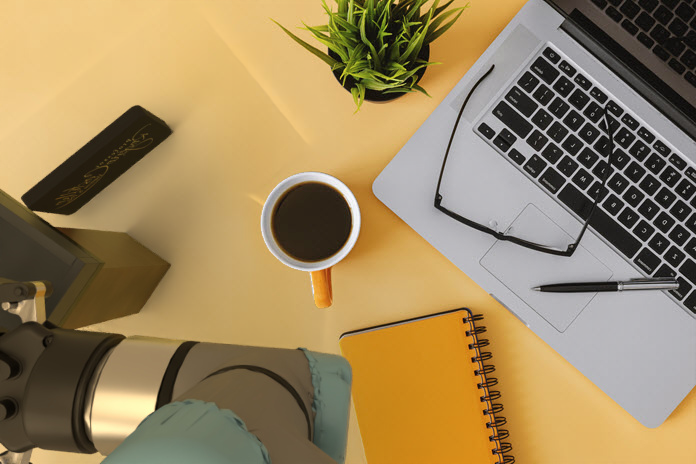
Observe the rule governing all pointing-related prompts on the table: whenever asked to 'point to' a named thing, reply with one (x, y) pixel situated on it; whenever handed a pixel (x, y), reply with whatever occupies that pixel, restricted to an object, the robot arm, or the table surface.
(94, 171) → the nameplate
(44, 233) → the tray
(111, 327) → the table surface
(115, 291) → the stand
